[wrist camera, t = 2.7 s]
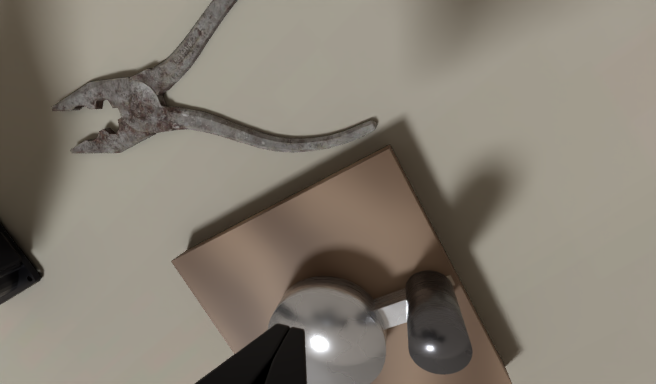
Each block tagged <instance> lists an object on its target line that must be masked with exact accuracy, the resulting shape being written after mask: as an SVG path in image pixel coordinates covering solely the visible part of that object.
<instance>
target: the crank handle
mask: <svg viewBox="0 0 656 384" xmlns="http://www.w3.org/2000/svg"><path fill="white" fill-rule="evenodd" d="M406 322H407V332H408V349H409V354H410V356H411V358H412V360H413V361H414V362H415V363H416V364H417V365H418V366H419V367H420V368H422V369H424V370H426V371H428V372H431V373H434V374H441V375H446V374H453V373H456V372H458V371H460V370H462V369H464V368H465V367H466V366H467V365H468V364H469V362H470V360H471V358H472V353H473V351H472V345H471V342H470V339H469V336H468V332H467V329H466V326H465V323H464V320H463V317H462V313H461V310H460V307H459V304H458V301H457V297H456V294H455V291H454V288H453V285H452V283H451V281H450V280H449V279H448V278H447V277H446V276H445V275H443V274H442V273H439V272H437V271H432V270H425V271H420V272H418V273H415V274H414V275H412V276H411V277H410V278H409V280H408V281H407V283H406V287H405V288H404V289H401V290H399V291H396V292H393V293H390V294H387V295H385V296H382V297H379V298H376V299H373V297H372V296H371V295H370V294H369V293H367V292H366V291H365V290H364V289H362V288H361V287H360V286H358V285H356V284H354V283H352V282H350V281H348V280H345V279H342V278H338V277H333V276H314V277H309V278H306V279H303V280H301V281H299V282H297V283H295V284H294V285H292V286H291V287H290V288H289V289H288V290H287V291H286V293H285V294H284V295H283V297H282V299H281V300H280V302H279V304H278V306H277V307H276V309H275V311H274V313H273V315H272V316H271V318H270V321H269V324H268V329H269V328H271V327H272V326H273V325H275V324H277V323H279V324H284V325H288V326H289V327H290V328H291V327H297V328H301V329H304V330H305V345H306V368H307V384H370V383H372V382H373V381H374V380H375V379H376V378H377V377H378V375H379V374H380V372H381V370H382V369H383V366H384V363H385V357H386V336H387V328H390V327H393V326H397V325H400V324H403V323H406Z"/></svg>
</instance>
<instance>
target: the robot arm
mask: <svg viewBox="0 0 656 384" xmlns="http://www.w3.org/2000/svg"><path fill="white" fill-rule="evenodd" d="M40 279H41V278H40V275H39V273H38V272H37V271H36V270H35V268H34V267H33V266H32V264H31V263H30V262H29V260H28V259H27V258H26V257H25V255H24V254H23V253H22V251H21V250H20V249H19V247H18V246H17V245H16V244H15V242H14V241H13V240H12V238H11V237H10V236H9V234H8V233H7V232H6V231H5V229H4V228H3V227H2V225H1V224H0V305H1V304H2V303H4V302H6V301H8V300H9V299H11V298H13V297H14V296H16V295H17V294H19V293H21V292H22V291H24V290H26V289H27V288H29V287H31V286H32V285H34V284H36V283H37V282H39V281H40ZM195 384H307V368H306V345H305V330H304V329H301V328H297V327H291V328H290V327H289V326H288V325H284V324H279V323H277V324H275V325H273V326H272V327H271V328H269V329H268V330H267V331H265V332H264V333H263V334H261V335H260V336H259V337H257V338H256V339H255V340H253V341H252V342H250V343H249V344H248V345H246V346H245V347H244V348H242V349H241V350H240V351H238V352H237V353H236V354H234V355H233V356H231V357H230V358H229V359H227V360H226V361H225V362H223V363H222V364H221V365H219V366H218V367H217V368H215V369H214V370H213V371H211V372H210V373H208V374H207V375H206V376H204V377H203V378H202V379H200V380H199V381H198V382H196V383H195Z"/></svg>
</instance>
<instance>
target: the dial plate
mask: <svg viewBox="0 0 656 384" xmlns="http://www.w3.org/2000/svg"><path fill="white" fill-rule="evenodd" d="M171 262H172V263H173V265H174V266H175V268H176V269H177V271H178V272H179V274H180V275H181V276H182V278H183V279H184V281H185V282H186V284H187V285H188V287H189V288H190V290H191V291H192V293H193V294H194V295H195V297H196V298H197V300H198V301H199V303H200V304H201V306H202V307H203V309H204V310H205V312H206V313H207V314H208V316H209V317H210V319H211V320H212V322H213V323H214V325H215V326H216V328H217V329H218V331H219V332H220V333H221V335H222V336H223V338H224V339H225V341H226V342H227V344H228V345H229V347H230V348H231V350H232V351H233V352H234V354H236V353H237V352H238V351H240V350H241V349H242V348H244V347H245V346H246V345H248V344H249V343H250V342H252V341H253V340H255V339H256V338H257V337H259V336H260V335H261V334H263V333H264V332H265V331H267V330H268V324H269V321H270V318H271V316H272V315H273V313H274V311H275V309H276V307H277V306H278V304H279V302H280V300H281V299H282V297H283V295H284V294H285V293H286V291H287V290H288V289H289V288H290V287H291V286H292V285H294V284H295V283H297V282H299V281H301V280H303V279H306V278H309V277H314V276H333V277H338V278H342V279H345V280H348V281H350V282H352V283H354V284H356V285H358V286H360V287H361V288H362V289H364V290H365V291H366V292H367V293H369V294H370V295H371V296H372V297H373V299H376V298H379V297H382V296H385V295H387V294H390V293H393V292H396V291H399V290H401V289H404V288H405V287H406V283H407V281H408V280H409V278H410V277H411V276H412V275H414V274H415V273H418V272H420V271H425V270H432V271H437V272H439V273H442V274H443V275H445V276H446V277H447V278H448V279H449V280H450V281H451V283H452V285H453V288H454V291H455V294H456V297H457V301H458V304H459V307H460V310H461V313H462V317H463V320H464V323H465V326H466V329H467V332H468V336H469V339H470V342H471V345H472V351H473V353H472V358H471V360H470V362H469V364H468V365H467V366H466V367H465V368H464V369H462V370H460V371H458V372H456V373H453V374H446V375H441V374H434V373H431V372H428V371H426V370H424V369H422V368H420V367H419V366H418V365H417V364H416V363H415V362H414V361H413V360H412V358H411V356H410V354H409V349H408V332H407V322H406V323H403V324H400V325H397V326H393V327H390V328H387V336H386V357H385V363H384V366H383V369H382V370H381V372H380V374H379V375H378V377H377V378H376V379H375V380H374V381H373V382H372V383H370V384H512V382H511V380H510V378H509V375H508V373H507V370H506V368H505V366H504V364H503V362H502V360H501V358H500V356H499V354H498V352H497V351H496V349H495V347H494V345H493V343H492V341H491V339H490V337H489V335H488V333H487V331H486V329H485V327H484V325H483V323H482V322H481V320H480V318H479V316H478V314H477V312H476V310H475V308H474V306H473V304H472V302H471V300H470V298H469V296H468V295H467V293H466V291H465V289H464V287H463V285H462V283H461V281H460V279H459V277H458V275H457V273H456V271H455V269H454V267H453V266H452V264H451V262H450V260H449V258H448V256H447V254H446V252H445V250H444V248H443V246H442V244H441V242H440V240H439V239H438V237H437V235H436V233H435V231H434V229H433V227H432V225H431V223H430V221H429V219H428V217H427V215H426V213H425V212H424V210H423V208H422V206H421V204H420V202H419V200H418V198H417V196H416V194H415V192H414V190H413V188H412V186H411V184H410V183H409V181H408V179H407V177H406V175H405V173H404V171H403V169H402V167H401V165H400V163H399V161H398V159H397V157H396V156H395V154H394V152H393V150H392V148H391V146H390V144H389V145H388V146H386V147H384V148H382V149H380V150H378V151H376V152H374V153H372V154H370V155H368V156H366V157H365V158H363V159H361V160H359V161H357V162H355V163H353V164H351V165H349V166H347V167H345V168H343V169H341V170H340V171H338V172H336V173H334V174H332V175H330V176H328V177H326V178H324V179H322V180H320V181H318V182H317V183H315V184H313V185H311V186H309V187H307V188H305V189H303V190H301V191H299V192H297V193H295V194H294V195H292V196H290V197H288V198H286V199H284V200H282V201H280V202H278V203H276V204H274V205H272V206H271V207H269V208H267V209H265V210H263V211H261V212H259V213H257V214H255V215H253V216H251V217H249V218H248V219H246V220H244V221H242V222H240V223H238V224H236V225H234V226H232V227H230V228H228V229H226V230H225V231H223V232H221V233H219V234H217V235H215V236H213V237H211V238H209V239H207V240H205V241H203V242H202V243H200V244H198V245H196V246H194V247H192V248H190V249H188V250H186V251H185V252H183V253H182V254H181V255H179V256H178V257H177V258H175V259H174V260H172V261H171Z"/></svg>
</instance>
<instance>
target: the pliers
mask: <svg viewBox="0 0 656 384" xmlns="http://www.w3.org/2000/svg"><path fill="white" fill-rule="evenodd" d="M236 2H237V0H213V1H212V2H211V3H210V5H209V6H208V7H207V9H206V10H205V11H204V13H203V14H202V15H201V17H200V18H199V20H198V21H197V22H196V24H195V25H194V26H193V28H192V29H191V30H190V32H189V33H188V35H187V36H186V37H185V39H184V40H183V41H182V42H181V44H180V45H179V46H178V47H177V48H176V50H175V51H174V52H173V53H172V54H171V55H170V56H169V57H168V58H167V59H166V60H165V61H164V62H162V63H160V64H159V65H157V66H155V67H154V68H148V69H146V70H144V71H142V72H140V73H138V74H136V75H134V76H132V77H124V78H115V79H108V80H101V81H94V82H88V83H87V84H86V85H84V86H83V87H81V88H80V89H78V90H77V91H75V92H74V93H72V94H71V95H69V96H68V97H66V98H65V99H63V100H62V101H60V102H59V103H57V104H56V105H54V106H53V107H52V111H65V110H80V109H82V108H81V107H84V106H85V107H87V108H89V109H102V107H103V101H104V100H108V101H109V102H110V104H111V105H112V107H113V108H118V109H119V111H120V114H121V116H122V118H120V119H119V120H118V123H119V130H118V132H117V133H115V132H114V131H113V130H112V129H110V128H108V129H103V130H101V131H99V133H98V137H97V138H96V139H94V140H85V141H84V142H82V143H80V144H79V145H77V146H76V147H74V148H72V149H71V150H70V151H71V152H72V153H120V152H123V151H124V150H126V149H128V148H130V147H132V146H134V145H136V144H138V143H140V142H141V141H143V140H145V139H147V138H149V137H151V136H153V135H155V134H156V133H159V132H165V131H172V130H180V129H191V130H197V131H203V132H207V133H211V134H215V135H218V136H222V137H225V138H228V139H232V140H235V141H238V142H242V143H245V144H248V145H252V146H255V147H259V148H263V149H268V150H273V151H282V152H304V151H314V150H320V149H326V148H331V147H334V146H338V145H341V144H345V143H348V142H351V141H353V140H355V139H358V138H360V137H363V136H365V135H367V134H368V133H370V132H372V131H374V130H375V129H376V126H377V123H376V122H374V121H371V120H370V121H368V122H365V123H363V124H360V125H358V126H355V127H353V128H351V129H348V130H346V131H343V132H339V133H336V134H332V135H329V136H323V137H316V138H304V139H291V138H282V137H276V136H272V135H269V134H265V133H262V132H259V131H256V130H253V129H250V128H247V127H244V126H242V125H239V124H236V123H233V122H231V121H228V120H226V119H223V118H221V117H218V116H215V115H212V114H209V113H206V112H202V111H198V110H193V109H187V108H180V107H169V106H167V105H166V103H165V100H164V97H163V95H164V93H165V91H167V90H169V89H170V88H171V87H172V86H173V85H174V84H175V83H176V82H177V81H178V80H179V79H180V78H181V77H182V76H183V75H184V74H185V73H186V72H187V71H188V70H189V69H190V67H191V66H192V65H193V63H194V62H195V61H196V59H197V58H198V56H199V55H200V53H201V52H202V50H203V49H204V47H205V45H206V44H207V42H208V41H209V39H210V38H211V36H212V35H213V33H214V32H215V30H216V29H217V27H218V26H219V24H220V23H221V22H222V20H223V19H224V17H225V16H226V14H227V13H228V12H229V10H230V9H231V8H232V7H233V5H234V4H235V3H236Z"/></svg>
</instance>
